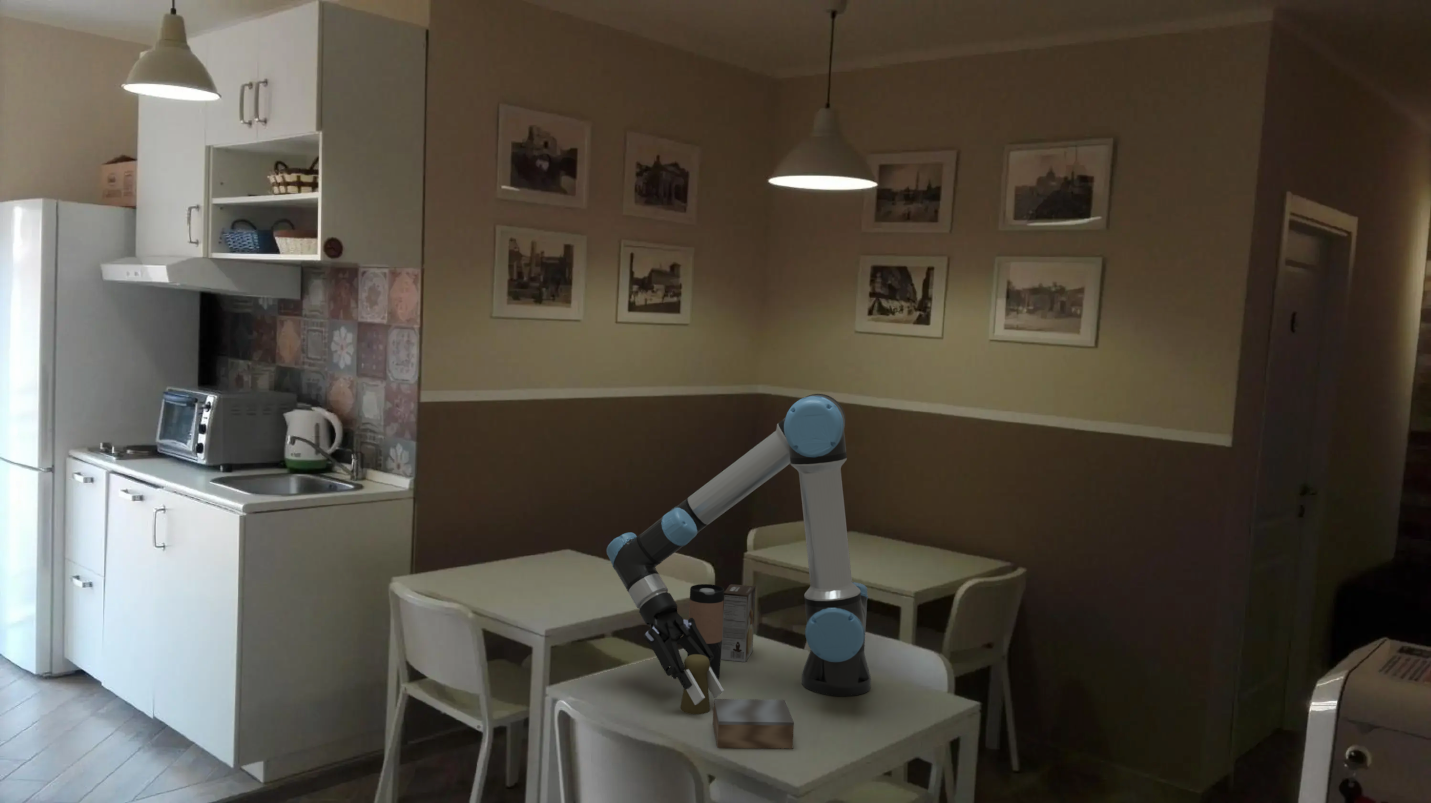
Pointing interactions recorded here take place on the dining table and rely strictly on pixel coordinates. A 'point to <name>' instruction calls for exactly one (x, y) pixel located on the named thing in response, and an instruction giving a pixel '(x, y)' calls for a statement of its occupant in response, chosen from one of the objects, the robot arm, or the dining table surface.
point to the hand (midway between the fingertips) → (709, 697)
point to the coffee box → (738, 622)
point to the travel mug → (709, 618)
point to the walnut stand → (752, 723)
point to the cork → (699, 671)
